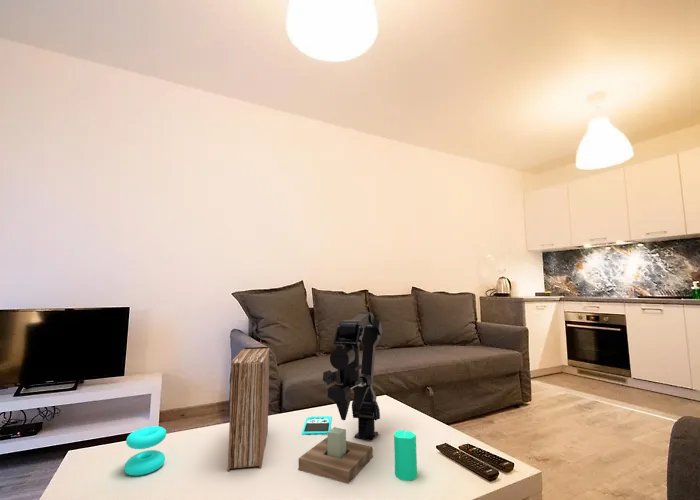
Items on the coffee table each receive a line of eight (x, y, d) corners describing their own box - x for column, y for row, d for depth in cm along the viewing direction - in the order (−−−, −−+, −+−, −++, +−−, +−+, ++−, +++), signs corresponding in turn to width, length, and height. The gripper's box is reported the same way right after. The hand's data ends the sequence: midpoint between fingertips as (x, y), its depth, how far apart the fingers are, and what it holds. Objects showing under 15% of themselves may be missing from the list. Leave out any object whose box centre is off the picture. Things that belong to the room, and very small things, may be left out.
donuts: (163, 435, 95) (122, 441, 91) (161, 473, 94) (119, 480, 90) (169, 422, 104) (131, 427, 101) (167, 457, 103) (129, 463, 99)
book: (261, 469, 96) (263, 360, 99) (227, 472, 94) (231, 361, 98) (267, 432, 121) (269, 346, 124) (241, 434, 119) (243, 347, 123)
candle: (417, 481, 89) (415, 433, 90) (394, 479, 90) (393, 431, 92) (417, 470, 95) (415, 425, 96) (395, 468, 96) (394, 423, 97)
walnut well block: (327, 446, 109) (327, 436, 110) (372, 457, 102) (372, 446, 103) (298, 469, 95) (298, 458, 96) (348, 483, 88) (348, 471, 88)
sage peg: (334, 458, 102) (334, 427, 103) (346, 461, 100) (346, 429, 101) (327, 464, 98) (327, 431, 99) (339, 467, 96) (339, 434, 97)
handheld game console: (332, 419, 134) (332, 415, 135) (330, 436, 119) (330, 431, 119) (306, 419, 134) (306, 415, 134) (301, 436, 118) (301, 432, 119)
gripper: (342, 354, 116) (343, 401, 115) (311, 365, 100) (311, 420, 98) (372, 357, 111) (372, 406, 109) (344, 369, 95) (344, 428, 93)
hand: (350, 414), depth 103 cm, fingers open, 9 cm apart
